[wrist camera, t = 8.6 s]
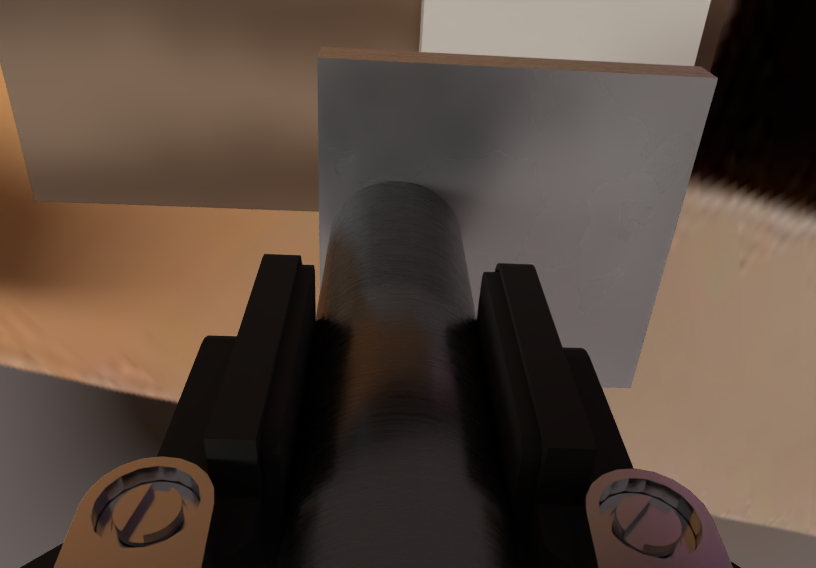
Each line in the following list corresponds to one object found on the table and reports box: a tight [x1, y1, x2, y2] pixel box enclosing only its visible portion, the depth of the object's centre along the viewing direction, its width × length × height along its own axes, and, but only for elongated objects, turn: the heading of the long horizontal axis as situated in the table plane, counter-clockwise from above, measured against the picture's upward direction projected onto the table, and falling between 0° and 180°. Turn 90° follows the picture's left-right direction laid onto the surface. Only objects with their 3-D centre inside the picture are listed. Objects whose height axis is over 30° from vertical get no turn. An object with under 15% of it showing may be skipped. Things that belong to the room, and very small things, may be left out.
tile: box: [419, 0, 711, 66], centre depth 27 cm, size 9×2×10 cm
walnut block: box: [0, 0, 729, 211], centre depth 32 cm, size 14×28×12 cm, turn 87°
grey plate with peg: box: [274, 47, 718, 568], centre depth 10 cm, size 7×7×11 cm
